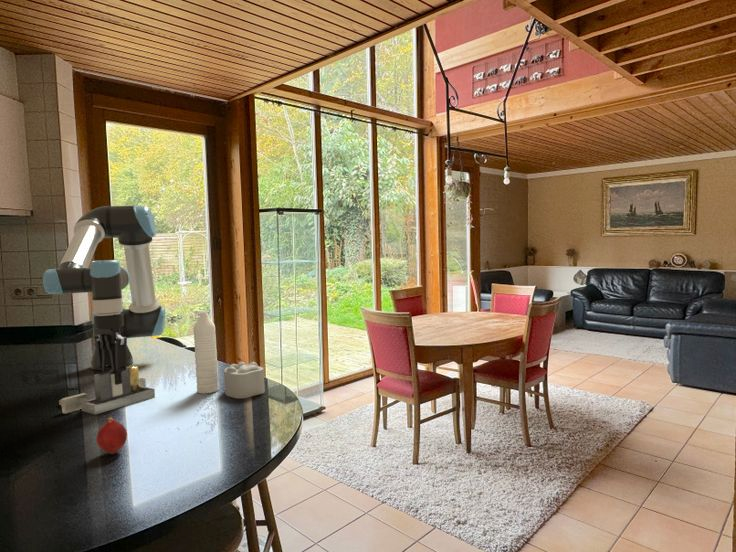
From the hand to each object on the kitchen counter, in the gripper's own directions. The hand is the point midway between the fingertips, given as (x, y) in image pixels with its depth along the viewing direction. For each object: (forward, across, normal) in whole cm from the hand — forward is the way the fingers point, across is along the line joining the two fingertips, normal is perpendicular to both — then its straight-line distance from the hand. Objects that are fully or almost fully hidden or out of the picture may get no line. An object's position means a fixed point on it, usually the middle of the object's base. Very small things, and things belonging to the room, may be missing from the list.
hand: (113, 394), depth 140 cm
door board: (+3, +7, -1) cm, 8 cm away
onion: (+4, -34, +19) cm, 40 cm away
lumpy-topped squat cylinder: (+4, -24, -27) cm, 36 cm away
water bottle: (+3, -12, -23) cm, 26 cm away
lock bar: (0, 0, -2) cm, 2 cm away
